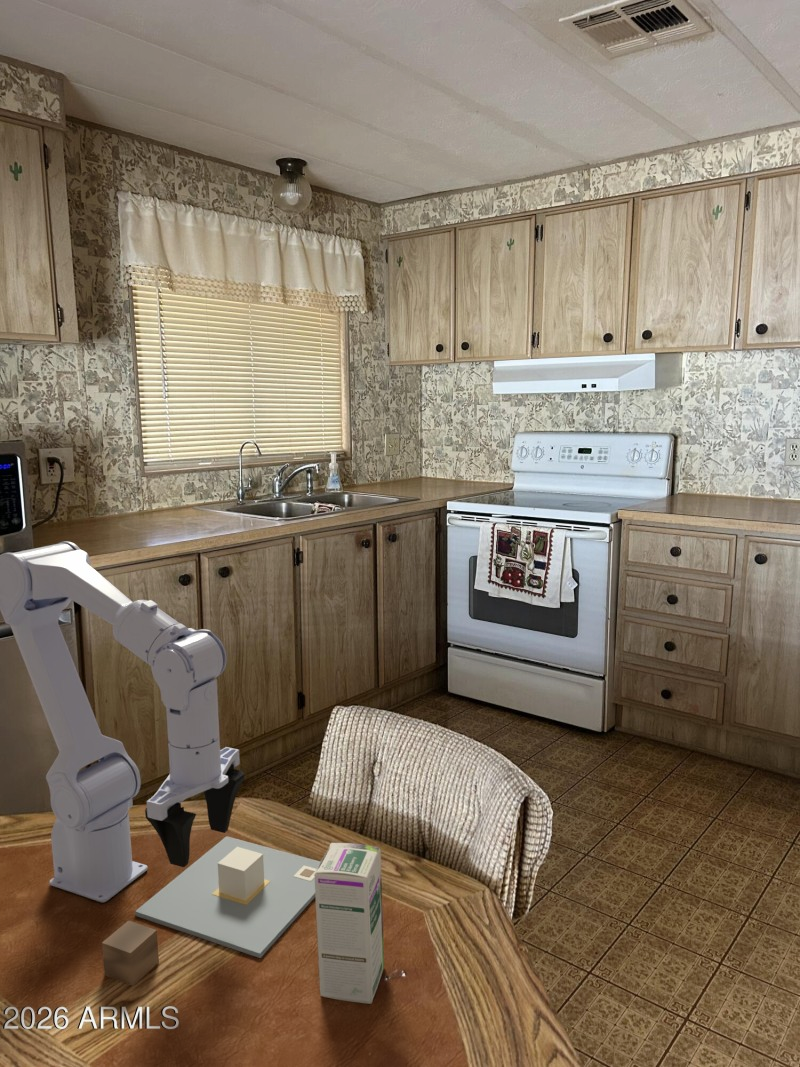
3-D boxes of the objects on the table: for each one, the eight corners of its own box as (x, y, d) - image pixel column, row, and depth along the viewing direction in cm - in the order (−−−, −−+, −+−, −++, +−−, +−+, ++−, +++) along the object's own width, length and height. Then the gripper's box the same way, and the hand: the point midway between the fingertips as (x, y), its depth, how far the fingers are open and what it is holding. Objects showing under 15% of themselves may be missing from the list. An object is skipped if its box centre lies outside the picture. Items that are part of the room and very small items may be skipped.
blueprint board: (135, 915, 96) (134, 910, 96) (226, 840, 112) (226, 835, 112) (260, 958, 88) (260, 952, 88) (338, 870, 105) (338, 865, 104)
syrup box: (372, 1006, 81) (370, 877, 79) (317, 997, 83) (313, 870, 80) (384, 967, 87) (383, 845, 84) (332, 959, 88) (329, 839, 86)
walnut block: (104, 975, 86) (101, 942, 85) (131, 952, 90) (128, 920, 89) (133, 986, 85) (130, 953, 84) (158, 962, 88) (156, 929, 87)
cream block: (219, 892, 99) (217, 863, 98) (238, 874, 103) (237, 846, 102) (245, 900, 97) (244, 871, 97) (264, 882, 101) (263, 853, 100)
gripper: (181, 771, 83) (188, 889, 86) (258, 719, 96) (262, 823, 99) (128, 759, 86) (136, 874, 88) (210, 710, 99) (215, 811, 101)
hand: (199, 846), depth 94 cm, fingers open, 7 cm apart
